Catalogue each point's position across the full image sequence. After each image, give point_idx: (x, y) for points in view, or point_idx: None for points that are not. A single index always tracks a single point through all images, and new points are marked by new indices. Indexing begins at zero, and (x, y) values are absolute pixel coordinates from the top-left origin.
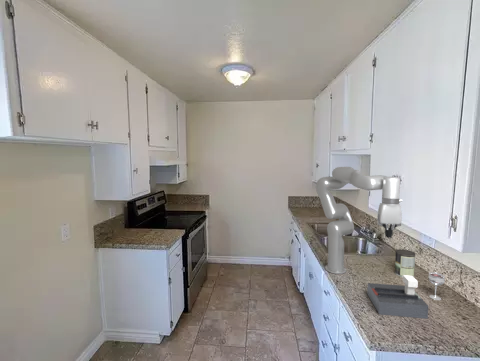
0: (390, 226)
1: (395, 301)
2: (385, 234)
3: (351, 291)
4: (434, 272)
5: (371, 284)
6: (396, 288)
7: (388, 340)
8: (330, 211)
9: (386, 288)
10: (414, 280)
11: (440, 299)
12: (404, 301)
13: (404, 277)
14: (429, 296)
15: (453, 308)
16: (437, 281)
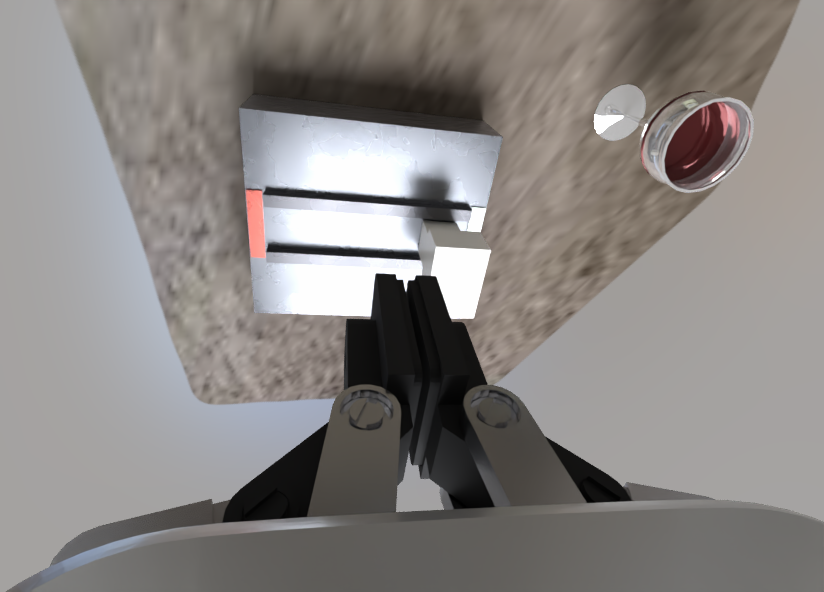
0: (486, 461)
1: (332, 302)
2: (345, 342)
3: (151, 62)
4: (735, 102)
5: (260, 130)
6: (403, 174)
7: (251, 399)
8: None
9: (331, 206)
10: (460, 311)
11: (628, 133)
12: None
13: (431, 266)
14: (600, 103)
15: (613, 207)
16: (658, 179)
